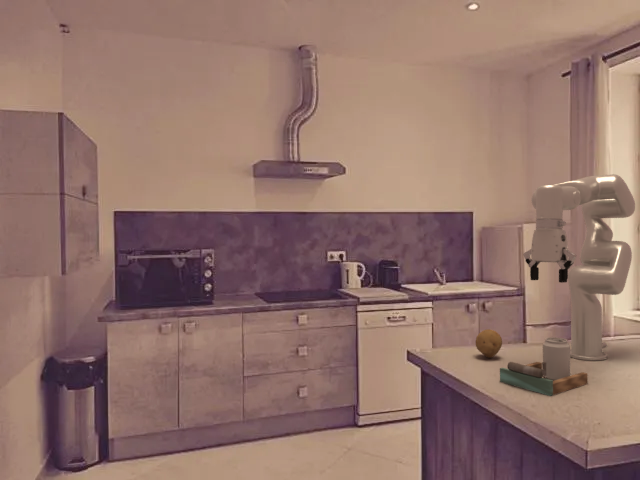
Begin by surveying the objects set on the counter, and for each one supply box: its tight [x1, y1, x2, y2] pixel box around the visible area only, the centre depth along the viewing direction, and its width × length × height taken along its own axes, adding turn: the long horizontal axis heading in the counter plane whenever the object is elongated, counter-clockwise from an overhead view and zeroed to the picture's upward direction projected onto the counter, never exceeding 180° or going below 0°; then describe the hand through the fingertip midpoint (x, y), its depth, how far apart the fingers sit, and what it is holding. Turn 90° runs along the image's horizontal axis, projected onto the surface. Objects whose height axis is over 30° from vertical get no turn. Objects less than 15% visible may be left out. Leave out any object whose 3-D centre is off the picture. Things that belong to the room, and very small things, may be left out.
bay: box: [499, 361, 589, 397], centre depth 152 cm, size 19×16×9 cm
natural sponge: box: [475, 328, 503, 359], centre depth 182 cm, size 9×9×10 cm
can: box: [542, 336, 571, 381], centre depth 156 cm, size 8×8×12 cm
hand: (548, 281), depth 161 cm, fingers open, 9 cm apart
